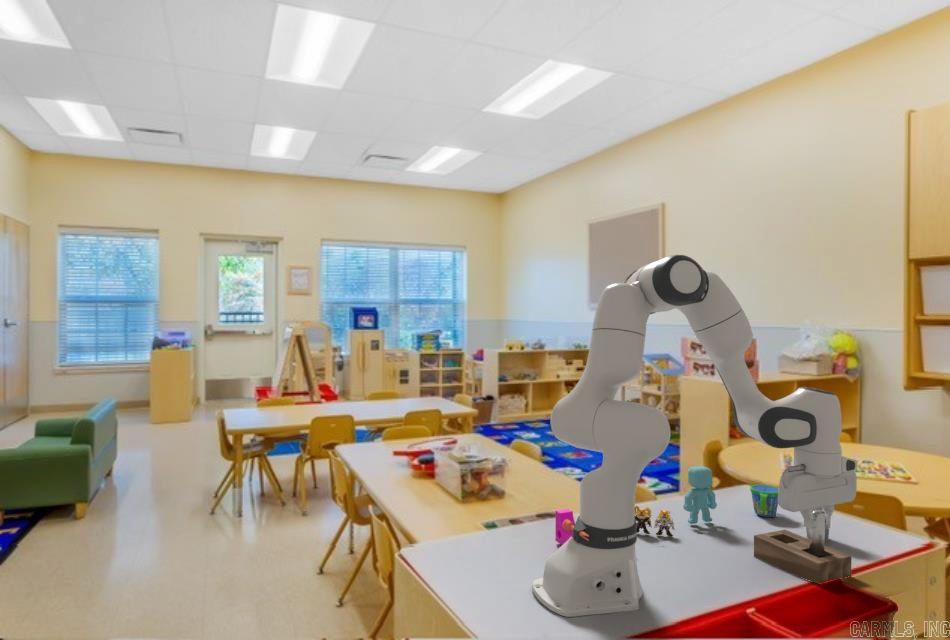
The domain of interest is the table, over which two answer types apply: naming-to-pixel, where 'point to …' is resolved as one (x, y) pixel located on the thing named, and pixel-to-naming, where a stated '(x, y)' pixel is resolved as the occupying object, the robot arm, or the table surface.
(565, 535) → the toy block
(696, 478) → the toy
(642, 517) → the figurine set
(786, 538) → the hole block
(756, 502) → the snack cup
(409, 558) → the table surface
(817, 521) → the peg
